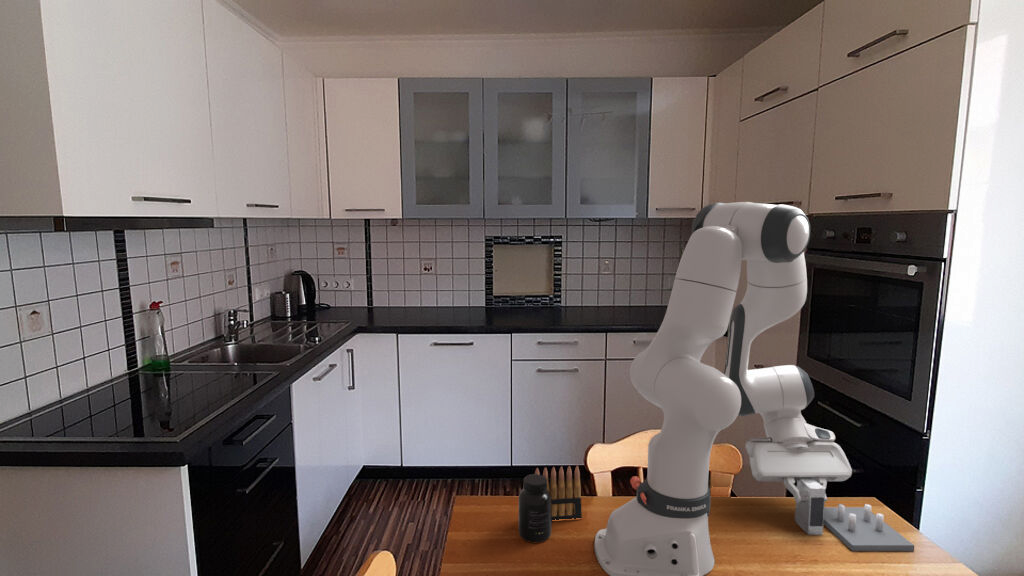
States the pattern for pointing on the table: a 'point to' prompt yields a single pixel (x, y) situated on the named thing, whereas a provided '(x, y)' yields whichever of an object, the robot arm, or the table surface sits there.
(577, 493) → the ammunition clip
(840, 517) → the pin tray
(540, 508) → the supplement bottle
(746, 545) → the table surface
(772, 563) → the table surface
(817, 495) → the block
